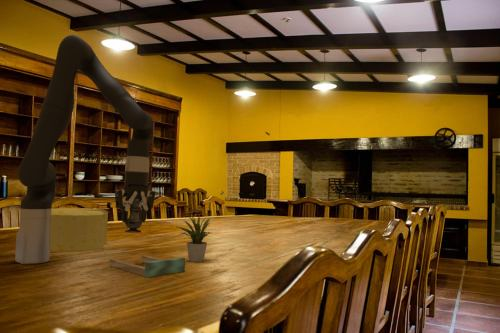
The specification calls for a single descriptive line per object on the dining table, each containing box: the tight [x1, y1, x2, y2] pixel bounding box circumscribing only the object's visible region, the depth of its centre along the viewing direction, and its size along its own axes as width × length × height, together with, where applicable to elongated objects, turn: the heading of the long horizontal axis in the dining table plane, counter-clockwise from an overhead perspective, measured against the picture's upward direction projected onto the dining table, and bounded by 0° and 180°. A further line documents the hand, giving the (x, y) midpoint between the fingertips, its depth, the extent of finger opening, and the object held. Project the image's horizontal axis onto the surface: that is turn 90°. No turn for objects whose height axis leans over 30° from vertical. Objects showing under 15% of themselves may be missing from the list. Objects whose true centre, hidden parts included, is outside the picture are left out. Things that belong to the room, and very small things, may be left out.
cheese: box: [50, 207, 109, 253], centre depth 171 cm, size 26×26×15 cm
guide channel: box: [109, 254, 186, 278], centre depth 132 cm, size 13×22×4 cm, turn 47°
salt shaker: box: [124, 199, 144, 234], centre depth 138 cm, size 6×6×12 cm
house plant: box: [176, 214, 212, 263], centre depth 149 cm, size 14×14×16 cm
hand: (133, 222), depth 138 cm, fingers closed on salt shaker, 6 cm apart
